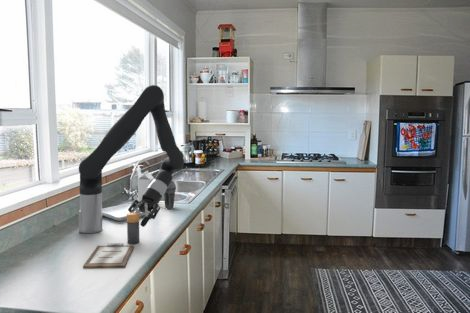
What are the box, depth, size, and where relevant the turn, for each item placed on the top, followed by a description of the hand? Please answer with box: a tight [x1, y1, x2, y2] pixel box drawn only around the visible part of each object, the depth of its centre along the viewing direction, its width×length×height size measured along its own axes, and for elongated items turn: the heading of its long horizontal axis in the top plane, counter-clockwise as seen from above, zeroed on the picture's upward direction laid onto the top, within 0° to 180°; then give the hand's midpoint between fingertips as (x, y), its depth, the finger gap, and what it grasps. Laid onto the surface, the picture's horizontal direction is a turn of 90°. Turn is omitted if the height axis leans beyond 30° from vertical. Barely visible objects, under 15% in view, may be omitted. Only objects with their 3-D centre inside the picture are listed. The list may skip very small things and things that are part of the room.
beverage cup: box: [163, 181, 177, 210], centre depth 214 cm, size 7×7×20 cm
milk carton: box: [137, 170, 155, 201], centre depth 223 cm, size 7×7×19 cm
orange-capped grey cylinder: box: [126, 212, 141, 245], centre depth 158 cm, size 5×5×12 cm
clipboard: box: [82, 242, 135, 269], centre depth 142 cm, size 14×20×2 cm
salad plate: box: [102, 203, 146, 222], centre depth 198 cm, size 21×21×3 cm
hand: (134, 223), depth 159 cm, fingers open, 8 cm apart
